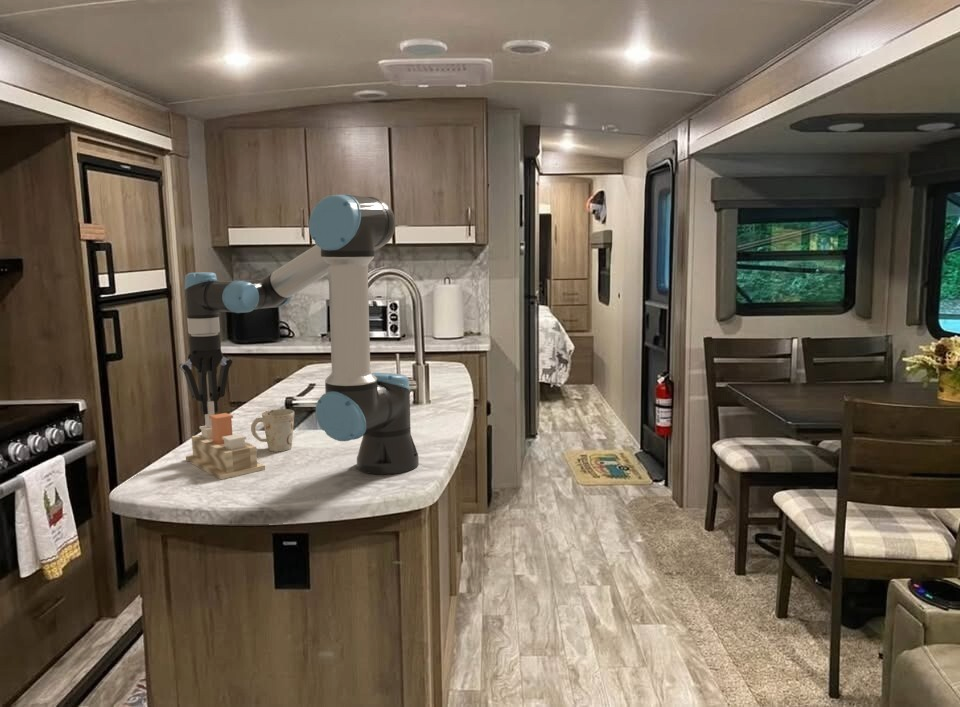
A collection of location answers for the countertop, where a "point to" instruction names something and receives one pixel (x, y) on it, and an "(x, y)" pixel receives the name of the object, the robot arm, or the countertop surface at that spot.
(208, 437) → the plug far
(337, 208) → the robot arm
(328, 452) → the countertop surface
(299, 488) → the countertop surface
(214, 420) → the plug centre
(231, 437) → the plug near
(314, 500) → the countertop surface
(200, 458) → the stepped wooden base
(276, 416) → the mug
